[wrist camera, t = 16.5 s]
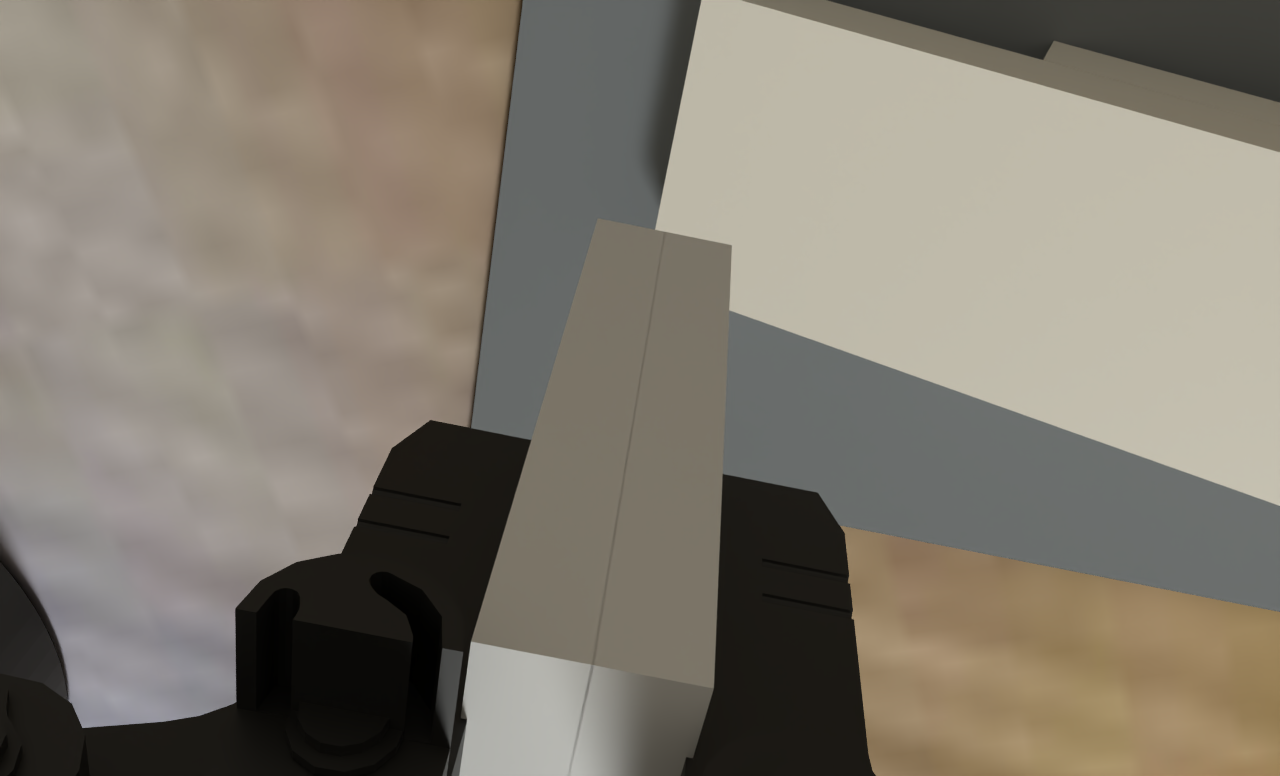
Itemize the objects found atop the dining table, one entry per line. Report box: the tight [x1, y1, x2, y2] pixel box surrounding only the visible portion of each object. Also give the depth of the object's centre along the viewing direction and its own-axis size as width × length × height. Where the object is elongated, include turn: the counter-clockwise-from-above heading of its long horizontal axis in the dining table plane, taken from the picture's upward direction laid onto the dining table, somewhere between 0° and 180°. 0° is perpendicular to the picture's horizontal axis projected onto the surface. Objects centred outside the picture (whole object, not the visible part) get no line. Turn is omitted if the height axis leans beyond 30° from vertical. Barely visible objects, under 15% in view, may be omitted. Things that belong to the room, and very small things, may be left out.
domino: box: [655, 0, 1280, 506], centre depth 18 cm, size 2×5×11 cm
